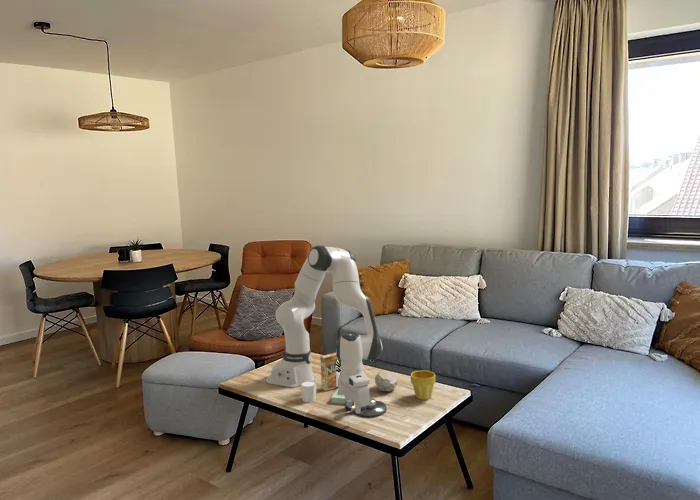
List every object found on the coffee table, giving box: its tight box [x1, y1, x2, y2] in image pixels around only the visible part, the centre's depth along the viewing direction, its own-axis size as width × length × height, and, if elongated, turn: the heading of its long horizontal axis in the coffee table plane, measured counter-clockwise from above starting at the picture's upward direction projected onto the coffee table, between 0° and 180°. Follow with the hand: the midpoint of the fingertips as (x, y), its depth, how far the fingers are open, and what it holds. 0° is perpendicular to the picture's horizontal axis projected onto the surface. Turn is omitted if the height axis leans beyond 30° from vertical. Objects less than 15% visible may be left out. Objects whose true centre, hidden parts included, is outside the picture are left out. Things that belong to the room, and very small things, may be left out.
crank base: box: [353, 400, 388, 418], centre depth 211 cm, size 13×13×1 cm
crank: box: [344, 397, 377, 412], centre depth 209 cm, size 12×4×4 cm, turn 105°
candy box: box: [319, 351, 338, 392], centre depth 234 cm, size 9×4×15 cm, turn 120°
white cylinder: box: [299, 381, 317, 403], centre depth 223 cm, size 7×7×7 cm
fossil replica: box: [374, 369, 398, 392], centre depth 231 cm, size 12×8×10 cm
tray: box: [330, 388, 345, 405], centre depth 222 cm, size 9×9×2 cm
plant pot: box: [410, 369, 436, 401], centre depth 221 cm, size 10×10×10 cm
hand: (353, 409), depth 203 cm, fingers open, 6 cm apart
